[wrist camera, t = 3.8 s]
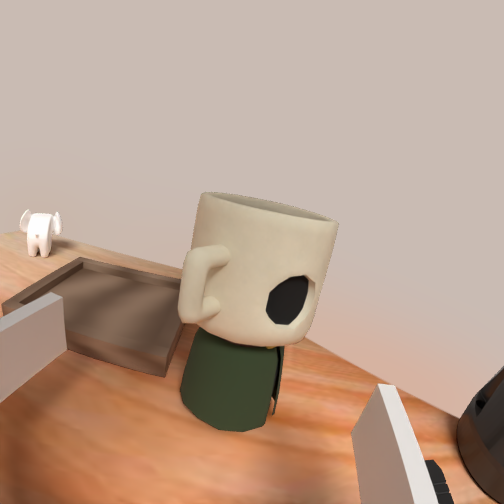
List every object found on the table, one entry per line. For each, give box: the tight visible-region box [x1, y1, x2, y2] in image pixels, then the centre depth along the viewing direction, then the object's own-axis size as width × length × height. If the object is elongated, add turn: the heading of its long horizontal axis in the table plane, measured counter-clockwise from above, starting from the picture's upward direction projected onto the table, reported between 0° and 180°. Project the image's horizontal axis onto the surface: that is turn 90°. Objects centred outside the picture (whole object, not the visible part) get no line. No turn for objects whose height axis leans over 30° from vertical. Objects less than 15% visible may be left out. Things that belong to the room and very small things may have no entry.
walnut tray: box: [2, 257, 185, 377], centre depth 26 cm, size 15×15×2 cm
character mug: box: [178, 192, 339, 432], centre depth 17 cm, size 11×7×13 cm, turn 148°
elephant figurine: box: [20, 210, 63, 258], centre depth 34 cm, size 7×8×6 cm
